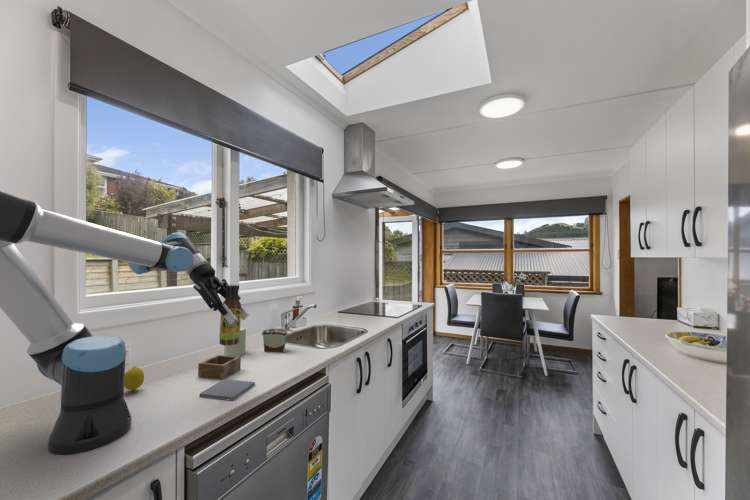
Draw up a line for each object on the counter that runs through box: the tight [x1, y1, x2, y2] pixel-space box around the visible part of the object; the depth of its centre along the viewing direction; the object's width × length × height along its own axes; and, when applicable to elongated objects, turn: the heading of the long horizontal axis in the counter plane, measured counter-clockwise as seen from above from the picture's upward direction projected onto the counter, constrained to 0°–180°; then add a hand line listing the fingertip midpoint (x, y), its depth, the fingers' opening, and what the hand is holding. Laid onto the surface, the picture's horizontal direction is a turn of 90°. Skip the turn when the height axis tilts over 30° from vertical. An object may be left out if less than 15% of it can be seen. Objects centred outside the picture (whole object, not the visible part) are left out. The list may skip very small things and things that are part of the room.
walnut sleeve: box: [197, 354, 242, 380], centre depth 118 cm, size 10×10×5 cm
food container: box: [261, 328, 288, 354], centre depth 147 cm, size 12×6×10 cm, turn 84°
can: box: [223, 326, 247, 357], centre depth 141 cm, size 9×9×12 cm
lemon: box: [124, 366, 145, 392], centre depth 101 cm, size 6×6×8 cm
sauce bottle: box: [218, 283, 242, 346], centre depth 104 cm, size 6×6×20 cm
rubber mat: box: [198, 378, 256, 401], centre depth 103 cm, size 12×12×1 cm
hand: (240, 319), depth 103 cm, fingers closed on sauce bottle, 6 cm apart
